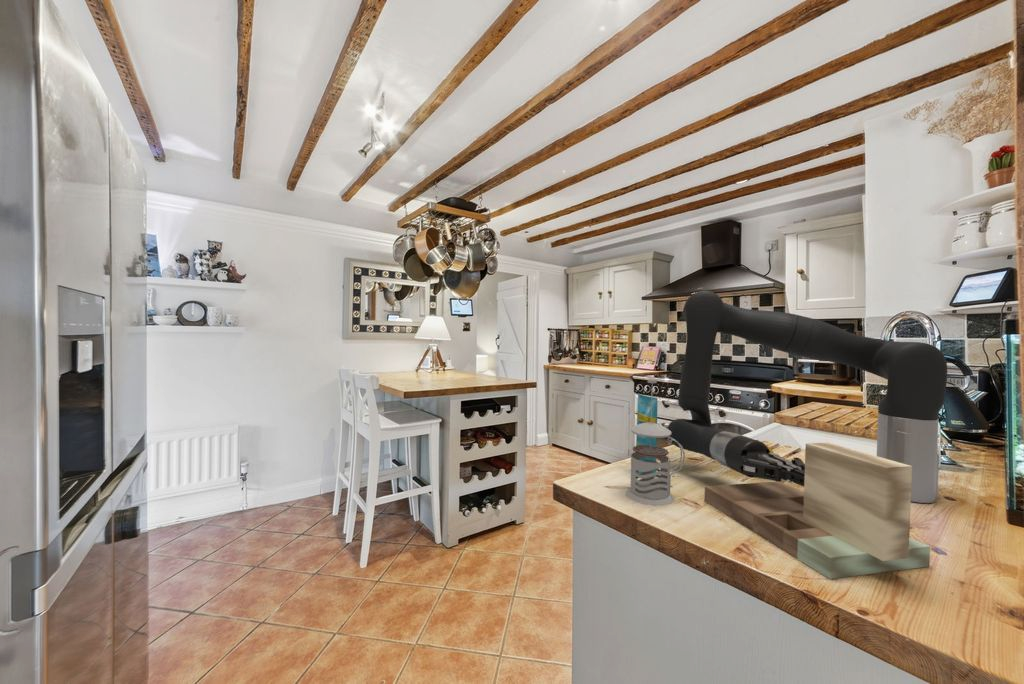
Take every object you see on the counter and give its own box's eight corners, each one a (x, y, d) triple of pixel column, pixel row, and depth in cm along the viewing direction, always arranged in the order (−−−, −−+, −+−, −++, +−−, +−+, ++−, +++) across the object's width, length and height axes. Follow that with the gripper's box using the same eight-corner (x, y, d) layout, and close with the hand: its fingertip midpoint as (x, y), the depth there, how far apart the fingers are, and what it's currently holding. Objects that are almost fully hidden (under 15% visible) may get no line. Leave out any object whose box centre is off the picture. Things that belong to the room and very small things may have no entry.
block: (825, 518, 67) (827, 442, 67) (908, 558, 55) (912, 466, 55) (803, 520, 66) (805, 443, 66) (882, 561, 54) (886, 467, 54)
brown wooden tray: (779, 495, 84) (779, 481, 84) (929, 566, 58) (930, 546, 58) (704, 500, 80) (704, 486, 80) (829, 578, 55) (830, 557, 55)
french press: (621, 485, 88) (623, 374, 88) (675, 488, 87) (678, 375, 86) (630, 504, 78) (632, 379, 78) (690, 507, 77) (694, 380, 77)
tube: (627, 470, 98) (629, 393, 97) (643, 468, 100) (644, 392, 99) (648, 480, 91) (651, 398, 91) (665, 478, 93) (667, 397, 93)
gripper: (711, 436, 82) (783, 463, 65) (765, 434, 85) (848, 459, 68) (710, 471, 82) (782, 508, 65) (764, 468, 85) (847, 502, 68)
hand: (816, 483), depth 66 cm, fingers closed
